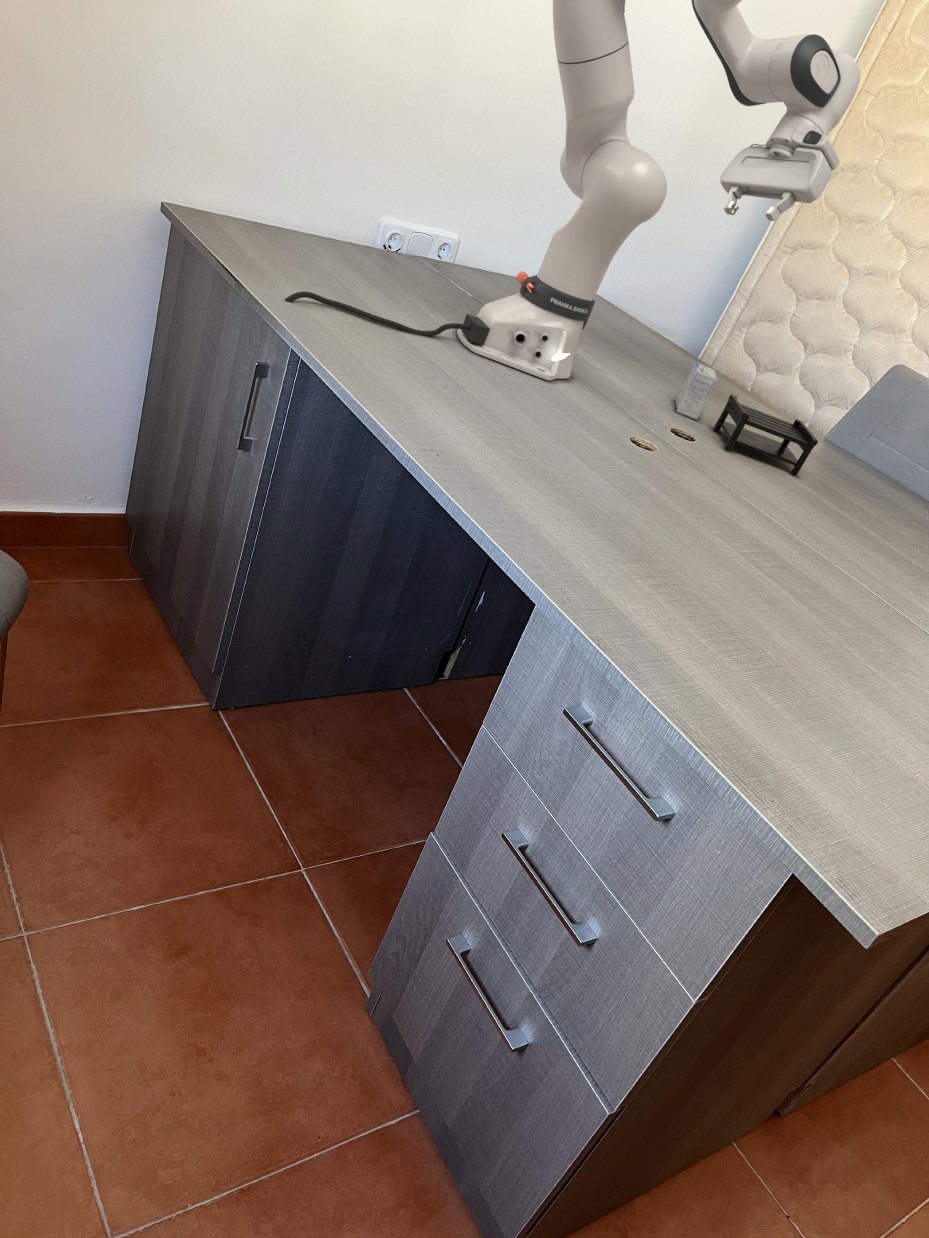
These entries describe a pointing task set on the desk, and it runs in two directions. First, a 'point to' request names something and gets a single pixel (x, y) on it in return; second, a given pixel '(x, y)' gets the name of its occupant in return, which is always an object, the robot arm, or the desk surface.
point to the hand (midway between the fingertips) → (748, 215)
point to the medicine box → (696, 391)
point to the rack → (768, 424)
